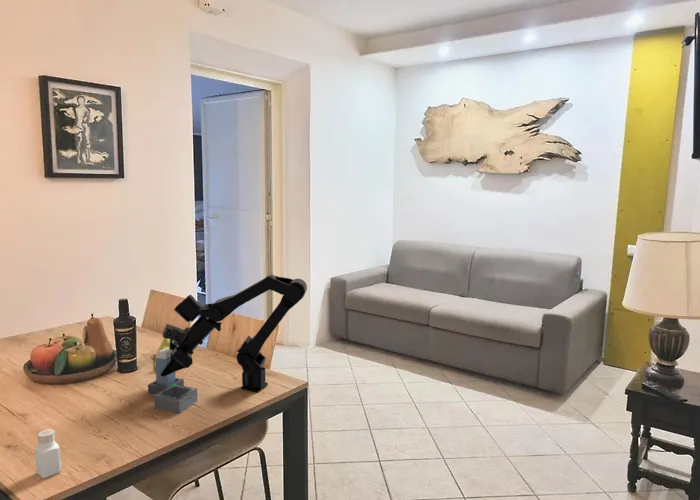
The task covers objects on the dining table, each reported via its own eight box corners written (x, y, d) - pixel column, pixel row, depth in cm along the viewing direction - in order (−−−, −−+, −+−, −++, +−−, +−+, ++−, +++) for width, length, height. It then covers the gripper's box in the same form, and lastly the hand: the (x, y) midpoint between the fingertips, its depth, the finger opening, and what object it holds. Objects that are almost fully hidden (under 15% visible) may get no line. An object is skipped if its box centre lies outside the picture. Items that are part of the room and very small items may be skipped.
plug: (175, 389, 156) (174, 349, 154) (167, 394, 152) (166, 353, 150) (165, 387, 157) (163, 347, 155) (156, 392, 153) (155, 352, 152)
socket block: (197, 401, 148) (197, 387, 147) (179, 413, 140) (179, 398, 140) (173, 397, 151) (173, 383, 150) (154, 408, 143) (154, 394, 142)
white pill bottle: (41, 480, 108) (38, 439, 107) (35, 473, 111) (32, 432, 110) (62, 472, 111) (59, 432, 110) (55, 465, 114) (52, 426, 113)
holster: (183, 388, 157) (183, 379, 157) (168, 397, 150) (168, 388, 150) (164, 384, 159) (163, 375, 159) (148, 394, 152) (147, 384, 152)
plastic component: (191, 360, 175) (163, 350, 172) (181, 378, 176) (154, 369, 172) (189, 339, 194) (164, 330, 190) (181, 355, 194) (156, 347, 190)
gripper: (177, 308, 162) (141, 344, 159) (179, 324, 144) (139, 365, 142) (202, 329, 166) (168, 365, 163) (208, 347, 148) (169, 387, 146)
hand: (161, 370), depth 153 cm, fingers open, 9 cm apart
